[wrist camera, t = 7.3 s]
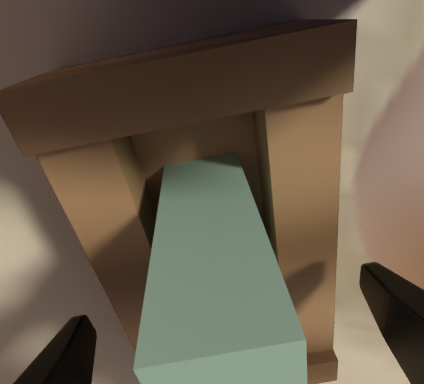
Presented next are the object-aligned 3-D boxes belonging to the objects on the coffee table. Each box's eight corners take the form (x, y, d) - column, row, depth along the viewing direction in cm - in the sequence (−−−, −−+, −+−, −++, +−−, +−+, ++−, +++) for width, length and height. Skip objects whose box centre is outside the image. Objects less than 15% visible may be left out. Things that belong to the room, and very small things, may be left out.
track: (309, 313, 16) (336, 380, 13) (164, 339, 17) (159, 411, 14) (302, 19, 9) (356, 19, 6) (52, 70, 10) (-11, 93, 7)
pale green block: (257, 292, 14) (312, 505, 8) (201, 302, 14) (212, 522, 8) (237, 151, 10) (309, 338, 4) (163, 165, 10) (129, 370, 4)
